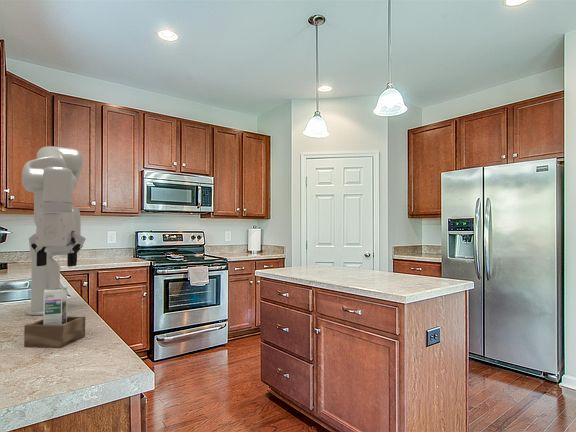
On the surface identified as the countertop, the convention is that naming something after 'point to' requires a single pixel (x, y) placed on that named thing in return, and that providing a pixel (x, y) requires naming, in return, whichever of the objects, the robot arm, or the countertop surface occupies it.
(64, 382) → the countertop surface
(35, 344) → the walnut holder
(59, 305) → the syrup box
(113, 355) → the countertop surface
